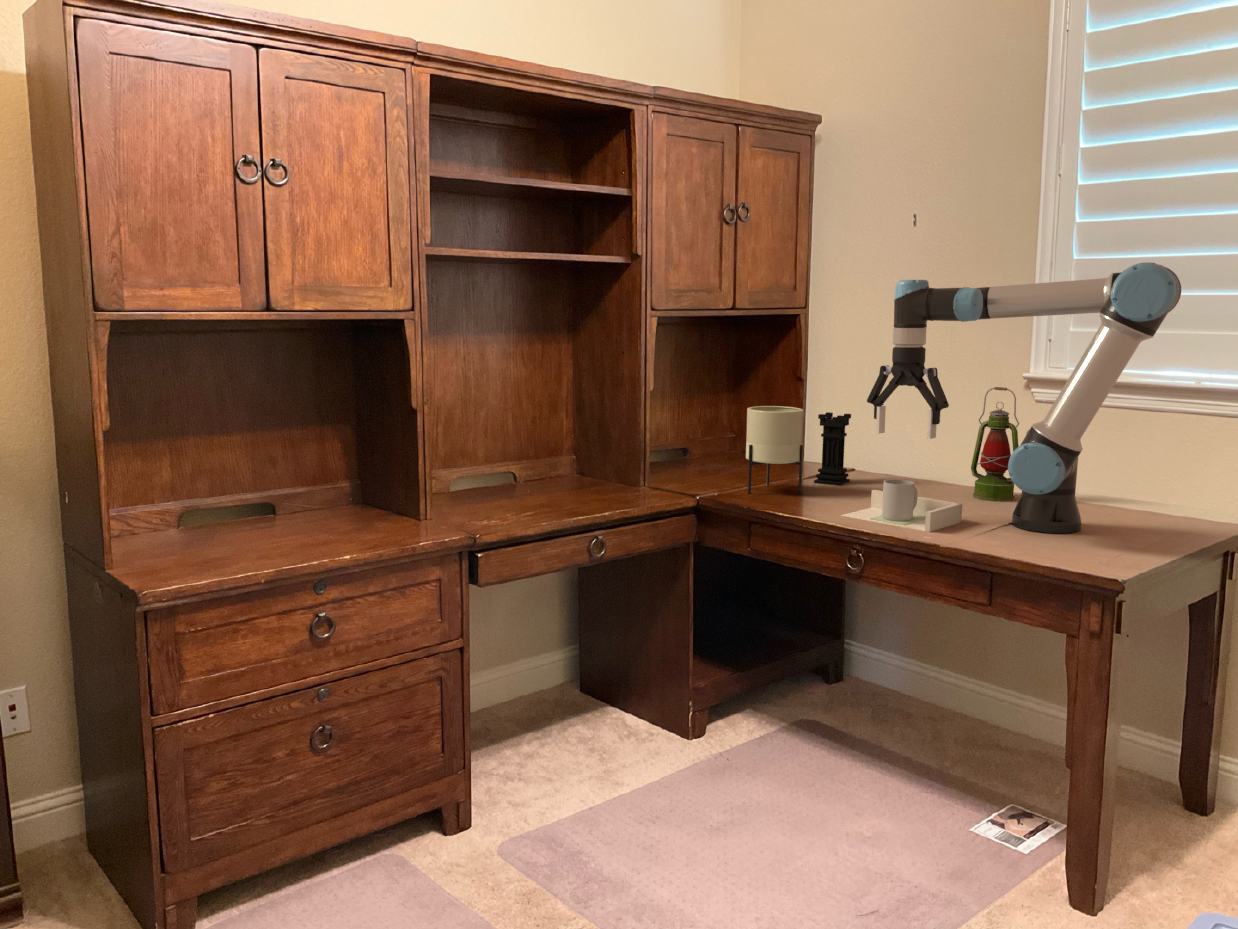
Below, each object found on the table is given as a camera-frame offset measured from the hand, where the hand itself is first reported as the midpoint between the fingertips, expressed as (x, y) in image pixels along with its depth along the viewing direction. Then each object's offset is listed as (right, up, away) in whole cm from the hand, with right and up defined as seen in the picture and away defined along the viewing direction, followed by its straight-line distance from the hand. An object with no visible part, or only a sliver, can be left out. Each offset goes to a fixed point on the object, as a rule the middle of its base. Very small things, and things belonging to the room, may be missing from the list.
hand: (905, 435), depth 244 cm
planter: (-25, -15, +40) cm, 50 cm away
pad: (0, -20, +3) cm, 20 cm away
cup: (0, -20, +3) cm, 20 cm away
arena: (0, -21, +3) cm, 21 cm away
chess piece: (-6, -12, +55) cm, 56 cm away
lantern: (+33, -16, +33) cm, 50 cm away
